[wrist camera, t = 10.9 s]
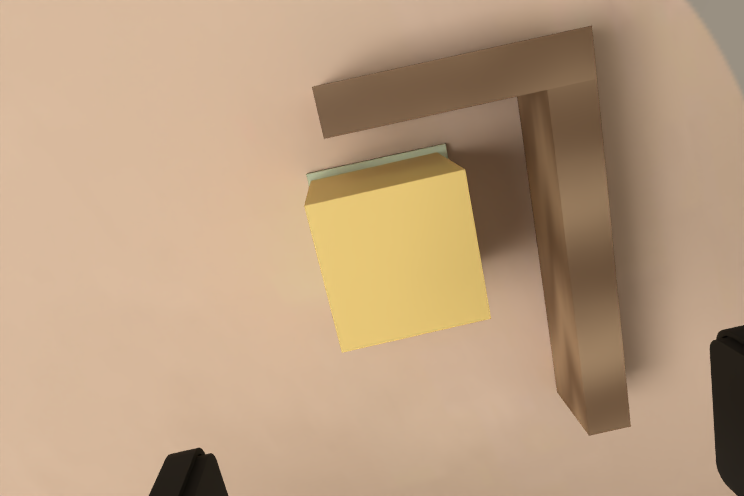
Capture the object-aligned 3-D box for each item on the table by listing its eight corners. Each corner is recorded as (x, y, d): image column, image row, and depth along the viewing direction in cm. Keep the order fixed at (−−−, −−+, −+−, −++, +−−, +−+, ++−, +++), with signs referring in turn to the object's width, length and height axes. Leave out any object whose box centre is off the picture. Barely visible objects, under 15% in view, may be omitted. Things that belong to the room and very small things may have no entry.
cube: (436, 152, 27) (464, 169, 21) (458, 271, 28) (491, 318, 22) (310, 181, 27) (304, 206, 21) (340, 299, 28) (341, 352, 22)
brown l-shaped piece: (593, 384, 31) (630, 426, 27) (369, 433, 31) (374, 483, 27) (553, 35, 26) (591, 25, 22) (287, 93, 26) (278, 94, 22)
